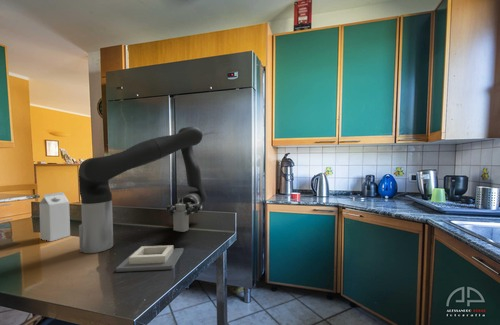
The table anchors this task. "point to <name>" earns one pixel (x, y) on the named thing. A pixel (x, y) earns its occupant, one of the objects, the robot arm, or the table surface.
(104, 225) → the robot arm
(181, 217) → the power adapter
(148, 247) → the docking plate
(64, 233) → the milk carton
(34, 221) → the table surface
